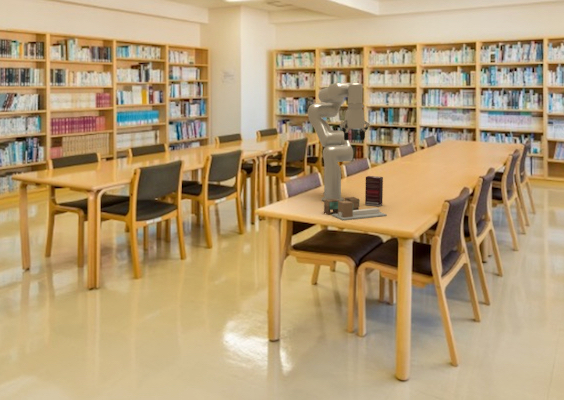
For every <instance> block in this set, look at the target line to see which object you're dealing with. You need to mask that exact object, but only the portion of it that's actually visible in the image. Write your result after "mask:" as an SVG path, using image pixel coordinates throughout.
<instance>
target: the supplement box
mask: <svg viewBox="0 0 564 400" xmlns="http://www.w3.org/2000/svg"><path fill="white" fill-rule="evenodd" d="M383 184H384V177H383V176H374V175H367V176H365V197H364V198H365V201H364V202H365V203H364V205H365V206H372V207H381V206H383V195H384V194H383V191H384V190H383V188H384V185H383Z"/></svg>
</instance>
